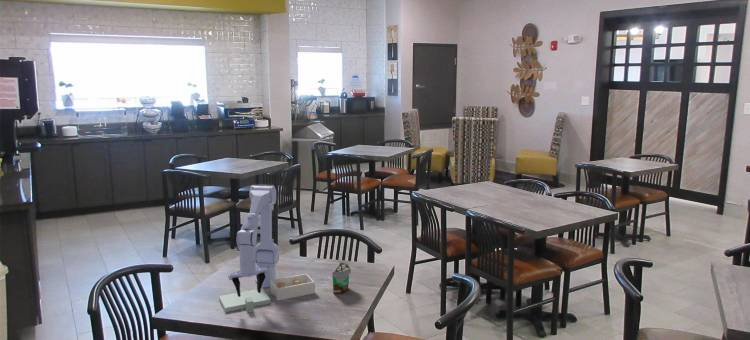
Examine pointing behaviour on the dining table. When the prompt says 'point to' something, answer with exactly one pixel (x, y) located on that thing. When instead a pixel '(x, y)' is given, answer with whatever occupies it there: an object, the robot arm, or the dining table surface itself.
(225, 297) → the lid
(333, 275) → the food container
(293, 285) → the tub
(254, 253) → the robot arm
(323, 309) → the dining table surface
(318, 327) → the dining table surface
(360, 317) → the dining table surface
